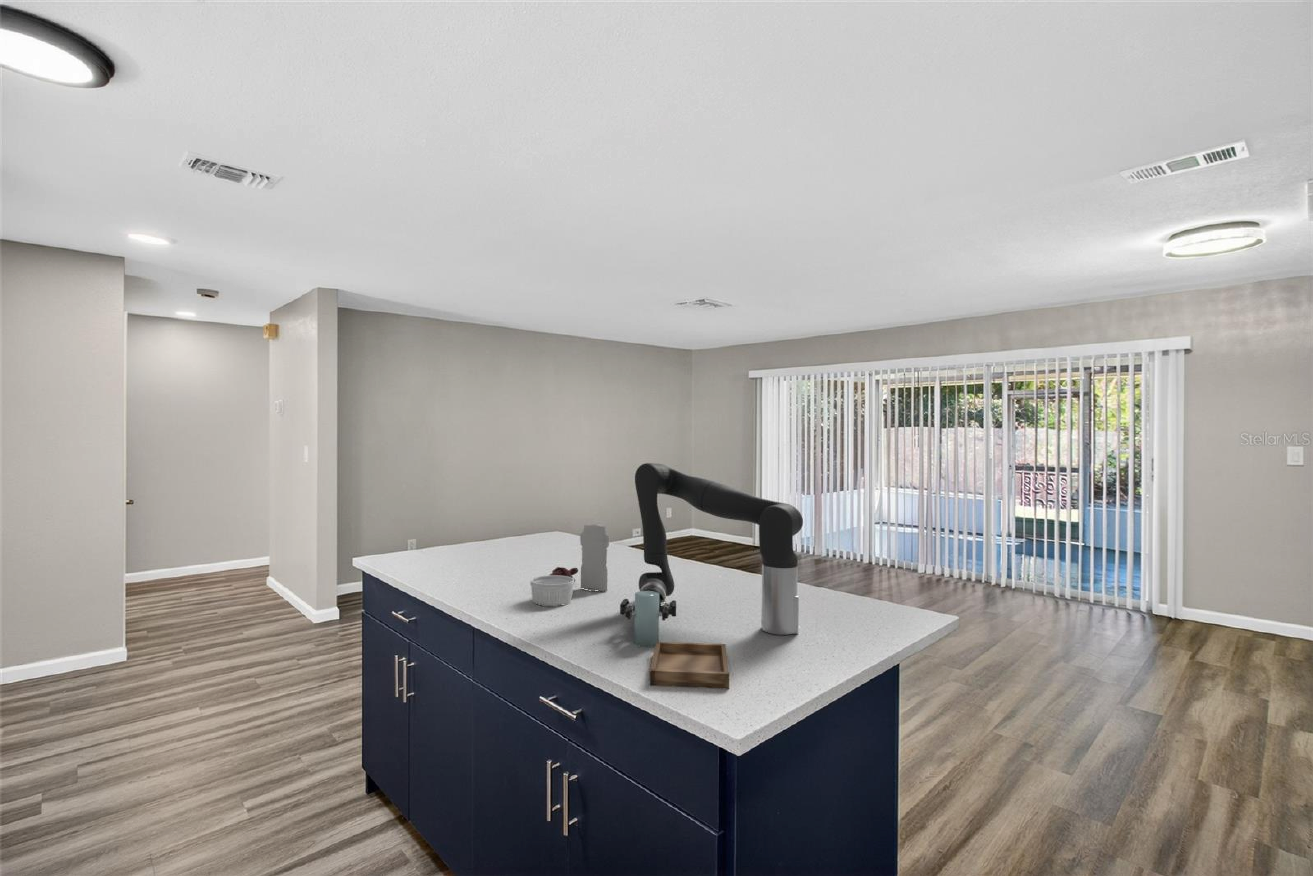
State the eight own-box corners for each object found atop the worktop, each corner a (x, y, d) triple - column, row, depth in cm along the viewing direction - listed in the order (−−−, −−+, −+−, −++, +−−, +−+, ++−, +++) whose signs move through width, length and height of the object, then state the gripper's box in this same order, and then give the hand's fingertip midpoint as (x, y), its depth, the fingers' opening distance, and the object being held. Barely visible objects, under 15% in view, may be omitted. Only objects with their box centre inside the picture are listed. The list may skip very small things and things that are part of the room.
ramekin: (558, 594, 195) (559, 572, 195) (582, 603, 185) (583, 580, 185) (522, 601, 186) (522, 578, 186) (545, 610, 176) (545, 586, 176)
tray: (725, 657, 140) (725, 644, 140) (729, 688, 122) (729, 674, 122) (656, 654, 141) (656, 641, 141) (649, 685, 123) (650, 670, 123)
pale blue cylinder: (659, 639, 152) (660, 591, 152) (657, 647, 146) (658, 597, 146) (635, 638, 153) (636, 590, 153) (633, 646, 147) (633, 596, 147)
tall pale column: (611, 590, 201) (611, 523, 201) (605, 593, 197) (606, 525, 197) (582, 587, 205) (583, 522, 205) (576, 590, 201) (577, 523, 201)
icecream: (553, 573, 196) (586, 570, 208) (539, 564, 201) (571, 562, 213) (548, 593, 197) (580, 589, 209) (533, 584, 201) (566, 580, 213)
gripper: (625, 583, 165) (617, 599, 148) (678, 585, 164) (675, 601, 147) (625, 611, 165) (617, 630, 148) (677, 613, 164) (675, 632, 147)
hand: (646, 615), depth 148 cm, fingers open, 8 cm apart
